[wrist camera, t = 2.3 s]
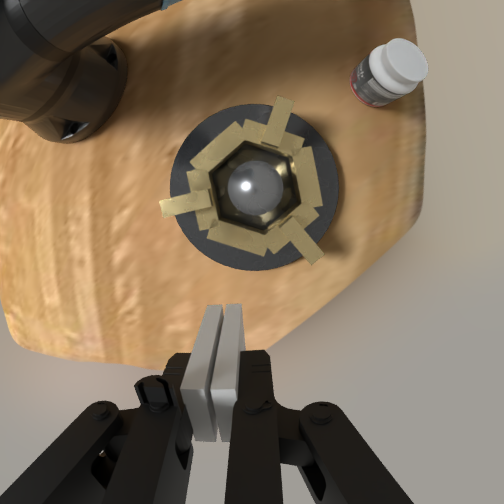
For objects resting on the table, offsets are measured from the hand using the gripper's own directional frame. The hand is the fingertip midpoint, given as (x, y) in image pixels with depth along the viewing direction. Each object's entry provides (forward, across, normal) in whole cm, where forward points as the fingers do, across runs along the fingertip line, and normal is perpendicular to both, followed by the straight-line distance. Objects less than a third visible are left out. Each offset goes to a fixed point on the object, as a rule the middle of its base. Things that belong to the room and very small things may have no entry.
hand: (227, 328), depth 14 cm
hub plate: (+18, +2, +7) cm, 20 cm away
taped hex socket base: (+17, +3, +6) cm, 18 cm away
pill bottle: (+19, +17, +19) cm, 31 cm away
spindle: (+18, +2, +7) cm, 20 cm away
